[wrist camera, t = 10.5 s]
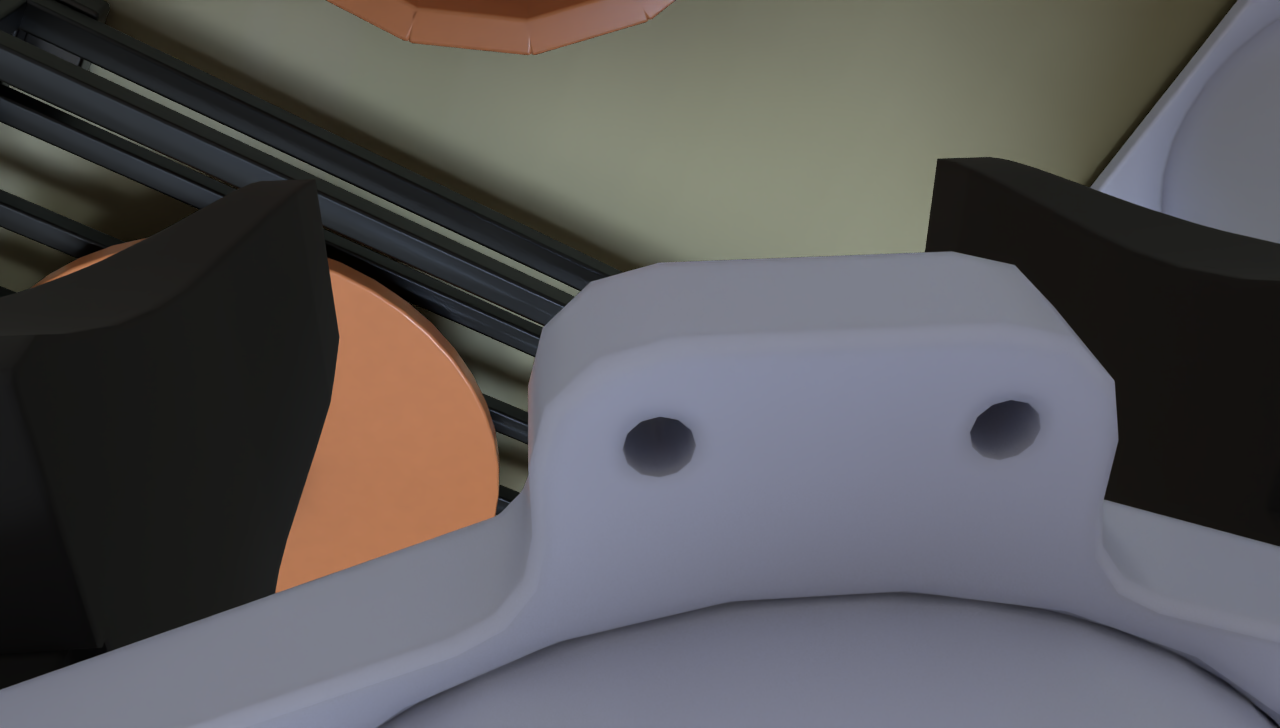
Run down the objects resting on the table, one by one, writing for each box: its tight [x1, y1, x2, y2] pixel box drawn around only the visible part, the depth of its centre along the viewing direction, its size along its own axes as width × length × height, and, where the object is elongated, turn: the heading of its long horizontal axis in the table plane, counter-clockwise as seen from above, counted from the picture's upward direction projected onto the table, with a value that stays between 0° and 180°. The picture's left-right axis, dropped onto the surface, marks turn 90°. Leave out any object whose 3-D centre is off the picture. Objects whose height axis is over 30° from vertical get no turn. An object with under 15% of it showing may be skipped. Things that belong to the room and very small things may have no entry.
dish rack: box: [0, 0, 624, 515], centre depth 25 cm, size 21×14×6 cm, turn 60°
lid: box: [31, 238, 499, 593], centre depth 23 cm, size 11×11×5 cm
